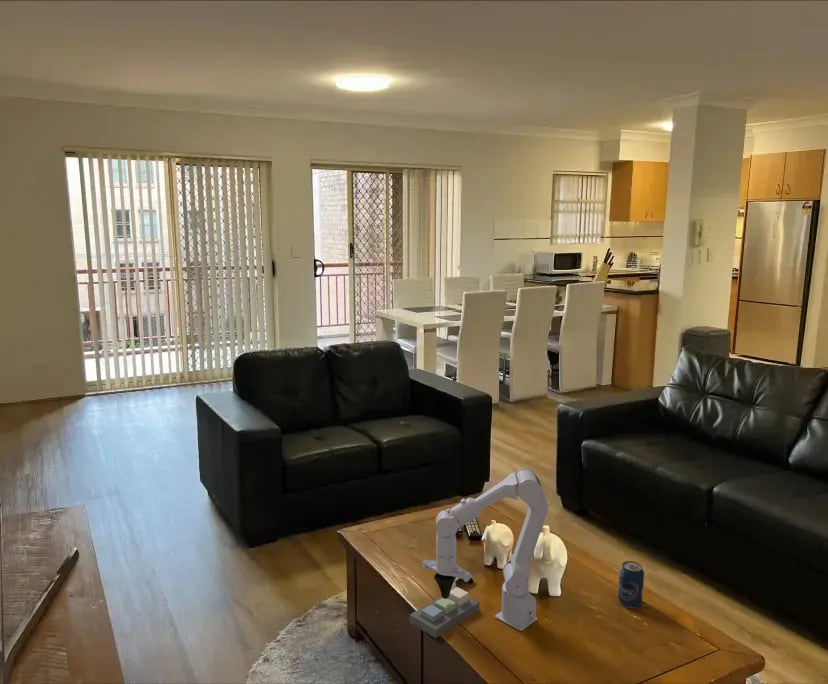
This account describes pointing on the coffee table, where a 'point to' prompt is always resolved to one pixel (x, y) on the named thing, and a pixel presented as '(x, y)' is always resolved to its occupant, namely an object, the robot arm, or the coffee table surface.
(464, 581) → the gaming controller
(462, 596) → the ivory key
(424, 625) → the key panel
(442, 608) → the sage key
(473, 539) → the coffee table surface
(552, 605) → the coffee table surface
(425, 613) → the slate key
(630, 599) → the soda can
